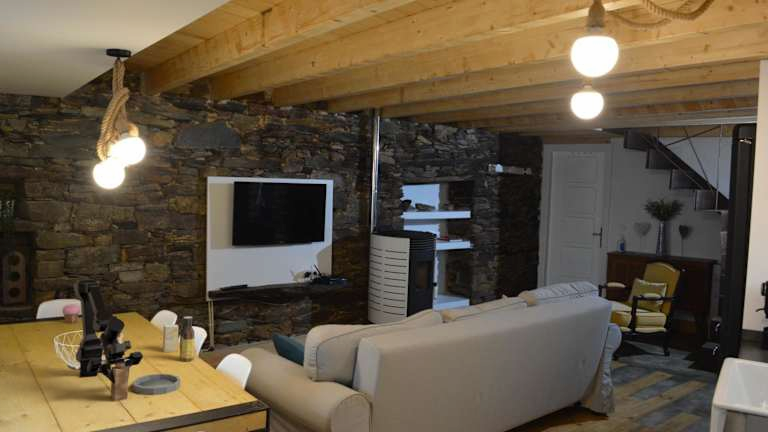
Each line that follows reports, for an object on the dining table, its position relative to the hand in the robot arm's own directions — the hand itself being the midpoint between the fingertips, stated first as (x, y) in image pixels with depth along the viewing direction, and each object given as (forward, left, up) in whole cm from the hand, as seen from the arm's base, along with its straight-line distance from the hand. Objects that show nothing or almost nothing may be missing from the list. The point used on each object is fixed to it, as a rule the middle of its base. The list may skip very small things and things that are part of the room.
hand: (120, 381), depth 219 cm
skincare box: (+25, +58, -7) cm, 64 cm away
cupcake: (-18, +129, -7) cm, 131 cm away
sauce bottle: (+30, +41, -7) cm, 51 cm away
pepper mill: (0, +1, -7) cm, 7 cm away
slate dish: (+14, +9, -7) cm, 18 cm away
